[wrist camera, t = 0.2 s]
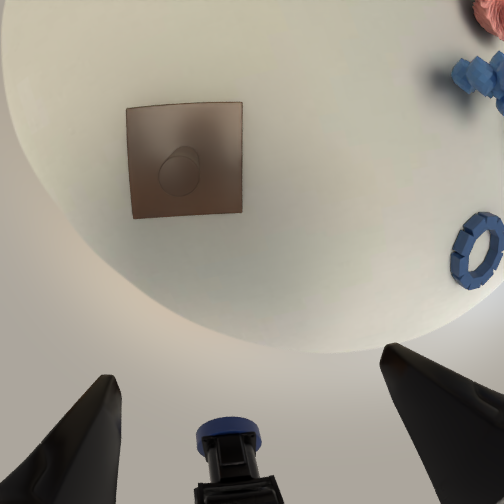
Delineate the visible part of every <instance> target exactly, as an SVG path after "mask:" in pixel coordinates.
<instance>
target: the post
mask: <svg viewBox="0 0 504 504" xmlns="http://www.w3.org/2000/svg"><path fill="white" fill-rule="evenodd" d="M242 114H243V103H242V102H202V103H181V104H166V105H154V106H143V107H134V108H127V109H126V127H127V151H128V168H129V181H130V193H131V204H132V213H133V219H143V218H157V217H172V216H188V215H206V214H225V213H242Z"/></svg>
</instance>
